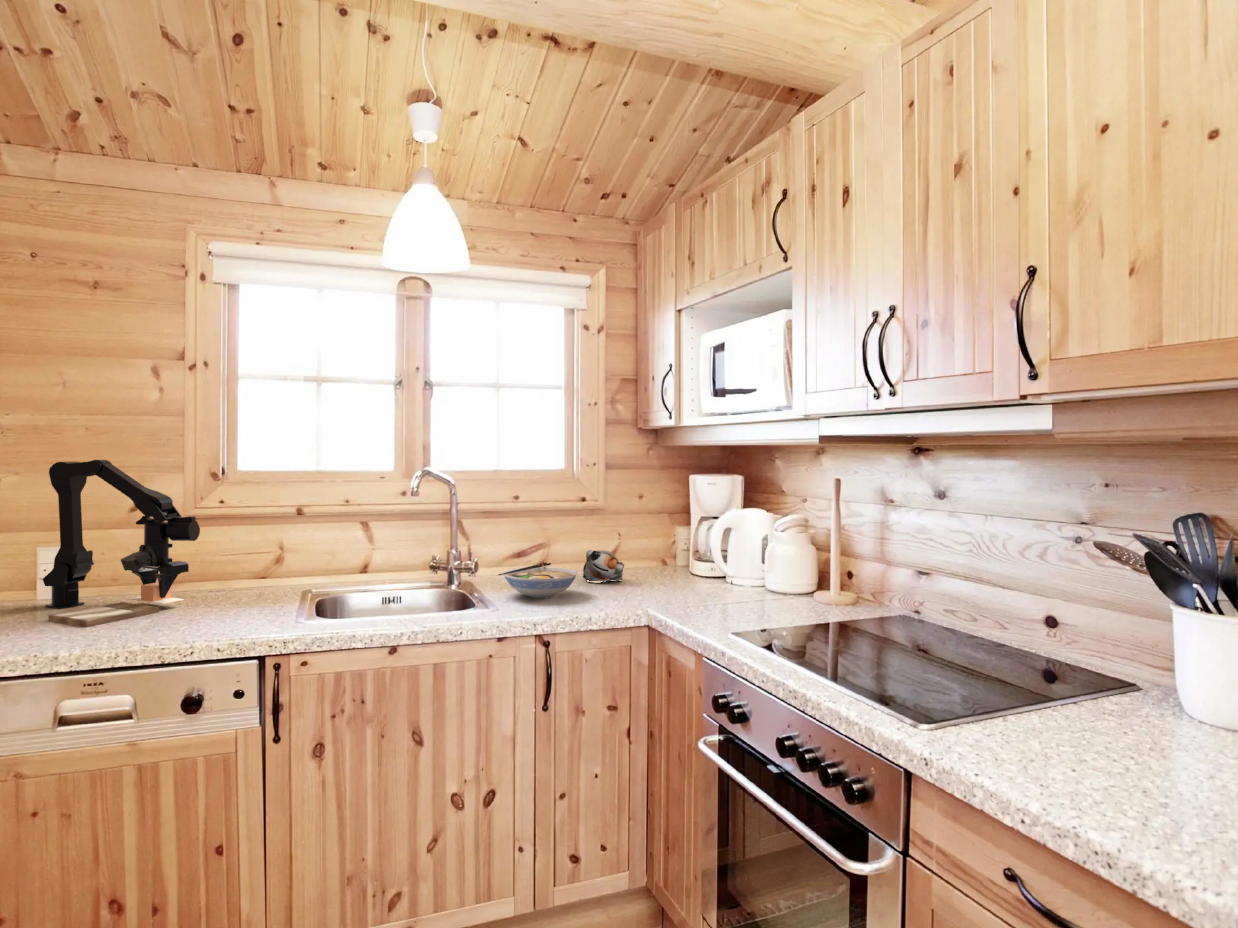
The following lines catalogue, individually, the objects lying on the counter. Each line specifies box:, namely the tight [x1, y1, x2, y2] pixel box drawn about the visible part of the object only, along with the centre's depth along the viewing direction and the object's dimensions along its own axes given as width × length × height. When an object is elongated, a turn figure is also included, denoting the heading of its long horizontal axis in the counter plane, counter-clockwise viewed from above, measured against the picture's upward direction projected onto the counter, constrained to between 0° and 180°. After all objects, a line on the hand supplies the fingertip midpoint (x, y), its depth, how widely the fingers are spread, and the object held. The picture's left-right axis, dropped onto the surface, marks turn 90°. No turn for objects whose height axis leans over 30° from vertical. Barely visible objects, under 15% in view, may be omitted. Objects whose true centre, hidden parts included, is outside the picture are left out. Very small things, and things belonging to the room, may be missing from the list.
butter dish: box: [128, 581, 185, 605], centre depth 196 cm, size 14×6×4 cm, turn 68°
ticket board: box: [48, 601, 160, 628], centre depth 184 cm, size 15×18×2 cm
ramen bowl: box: [497, 562, 578, 599], centre depth 218 cm, size 25×23×8 cm
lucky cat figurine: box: [582, 549, 625, 581], centre depth 243 cm, size 15×12×14 cm
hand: (156, 596), depth 196 cm, fingers closed on butter dish, 5 cm apart
